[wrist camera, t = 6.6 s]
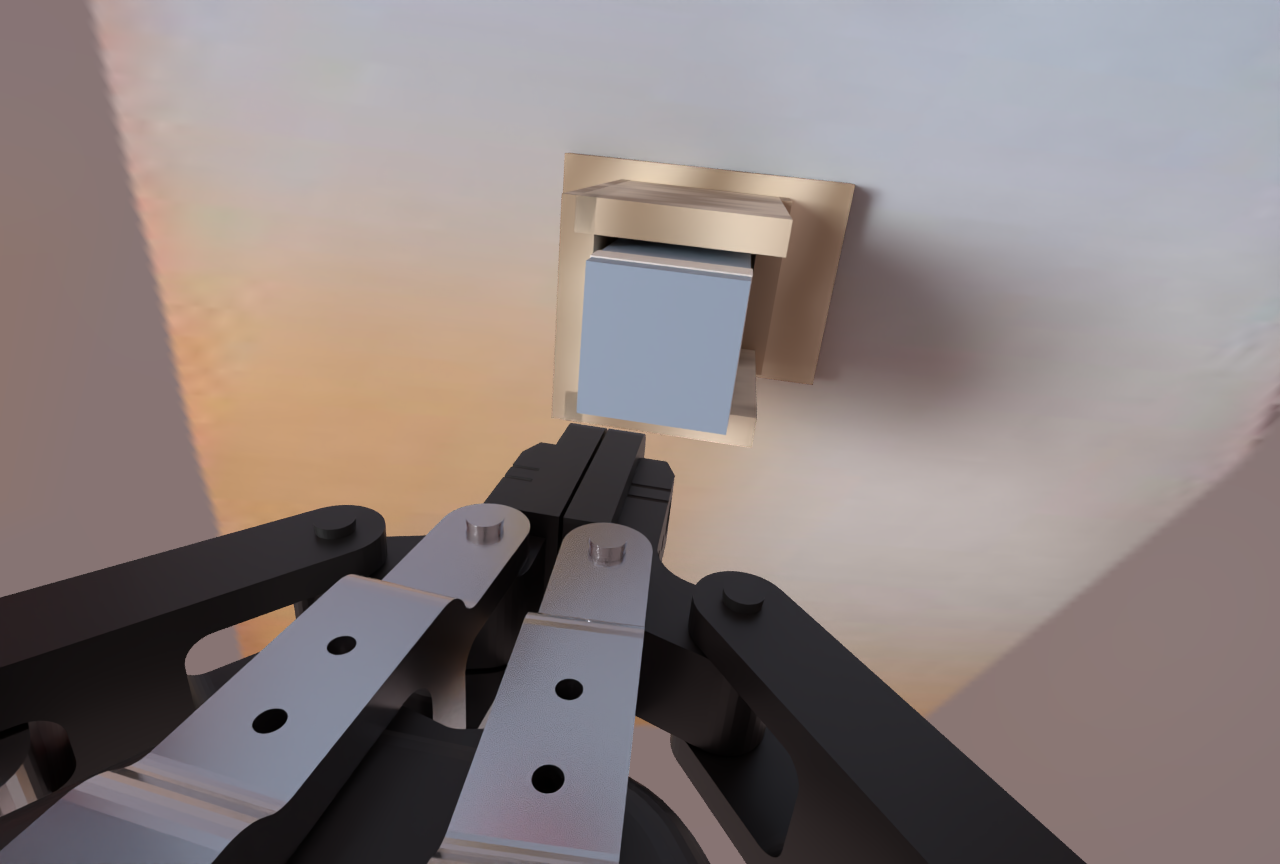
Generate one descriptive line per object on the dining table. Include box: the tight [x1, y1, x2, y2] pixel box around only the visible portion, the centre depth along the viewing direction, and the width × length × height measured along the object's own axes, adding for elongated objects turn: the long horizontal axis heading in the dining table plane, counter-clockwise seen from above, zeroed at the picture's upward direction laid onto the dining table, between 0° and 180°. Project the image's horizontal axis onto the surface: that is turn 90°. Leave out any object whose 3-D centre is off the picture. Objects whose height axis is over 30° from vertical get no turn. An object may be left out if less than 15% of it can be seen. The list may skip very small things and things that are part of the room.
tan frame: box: [551, 153, 855, 448], centre depth 29 cm, size 14×10×13 cm
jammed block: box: [577, 238, 753, 435], centre depth 27 cm, size 5×5×14 cm
